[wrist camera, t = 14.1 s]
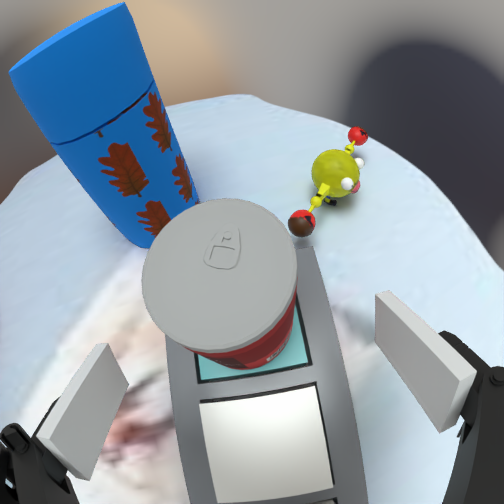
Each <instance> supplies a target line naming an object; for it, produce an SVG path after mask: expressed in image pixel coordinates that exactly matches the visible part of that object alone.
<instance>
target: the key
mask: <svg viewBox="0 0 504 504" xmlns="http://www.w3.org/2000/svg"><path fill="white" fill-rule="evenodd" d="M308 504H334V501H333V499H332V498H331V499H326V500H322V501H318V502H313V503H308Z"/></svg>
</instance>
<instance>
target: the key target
mask: <svg viewBox="0 0 504 504" xmlns="http://www.w3.org/2000/svg"><path fill="white" fill-rule="evenodd" d="M198 358H199V366H200V374H201V380H205V381H211V382H214V381H222V380H229V379H237V378H243V377H250V376H256V375H262V374H268V373H273V372H278V371H284V370H289V369H294V368H298V367H303V366H305V365H306V364H307V363H308V361H307V356H306V351H305V346H304V342H303V337H302V333H301V328H300V323H299V319H298V314H297V310H296V306H295V309H294V317H293V326H292V331H291V334H290V338H289V340H288V342H287V344H286V345H285V347H284V349H283V350H282V351H281V352H280V353H279V355H278V356H277V357H275V358H274V359H273V360H272V361H270V362H269V363H267V364H265V365H263V366H261V367H258V368H254V369H249V370H237V369H231V368H228V367H225V366H223V365H220V364H218V363H216V362H214V361H211V360H209V359H207V358H205V357H203V356H200V355H198Z"/></svg>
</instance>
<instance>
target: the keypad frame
mask: <svg viewBox="0 0 504 504" xmlns="http://www.w3.org/2000/svg"><path fill="white" fill-rule="evenodd" d="M295 252H296V257H297V265H298V275H297V277H298V280H297V291H296V300H295V306H296V310H297V314H298V319H299V323H300V328H301V333H302V337H303V342H304V346H305V351H306V356H307V361H308V367H303V368H299V369H294V370H289V371H284V372H279V373H274V374H268V375H263V376H257V377H250V378H244V379H237V380H230V381H222V382H214V383H210V382H209V381H205V380H201V374H200V366H199V358H198V354H196V353H194V352H192V351H190V350H188V349H186V348H184V347H183V346H181V345H179V344H177V343H176V342H175V341H173V340H172V339H170V338H169V337H168V336H166V334H165V339H166V352H167V363H168V373H169V382H170V391H171V399H172V407H173V414H174V421H175V427H176V434H177V440H178V445H179V451H180V457H181V462H182V467H183V472H184V477H185V481H186V486H187V490H188V495H189V499H190V503H191V504H308V503H313V502H318V501H322V500H326V499H331V498H333V501H334V504H368V496H367V488H366V481H365V474H364V467H363V460H362V454H361V448H360V442H359V436H358V431H357V425H356V420H355V414H354V409H353V404H352V399H351V394H350V390H349V385H348V380H347V376H346V371H345V366H344V362H343V358H342V353H341V349H340V345H339V341H338V337H337V333H336V329H335V325H334V321H333V317H332V313H331V309H330V305H329V301H328V298H327V294H326V290H325V287H324V283H323V280H322V276H321V272H320V269H319V265H318V262H317V259H316V255H315V252H314V248H313V246H311V247H306V248H301V249H296V250H295ZM308 383H312V386H315V389H316V394H317V400H318V405H319V410H320V415H321V420H322V426H323V431H324V436H325V442H326V448H327V453H328V459H329V465H330V471H331V477H332V483H333V488H329V489H325V490H321V491H316V492H312V493H307V494H301V495H296V496H290V497H284V498H277V499H269V500H260V501H249V502H233V503H217V498H216V494H215V489H214V485H213V480H212V475H211V470H210V465H209V460H208V455H207V449H206V444H205V438H204V432H203V426H202V420H201V414H200V407H199V404H205V403H212V399H217V398H226V397H234V396H242V395H249V394H255V393H262V392H268V391H273V390H279V389H284V388H289V387H294V386H299V385H303V384H308Z"/></svg>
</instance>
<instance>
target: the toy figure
mask: <svg viewBox="0 0 504 504" xmlns="http://www.w3.org/2000/svg"><path fill="white" fill-rule="evenodd" d="M348 139H349V141H350V142H351V144H350V145H347V146H346V147H345V151H342V150H337V149H332V150H327V151H325V152H323V153H321V154H320V155H319V156H318V157H317V158H316V159H315V161H314V163H313V166H312V179H313V182H314V184H315V186H316V187H317V188H318V190H319V191H318V193H317V195H316V196H314V197H312V198H311V201H310V203H311V207H310V209H309V210H308V211H307V210H298V211H296V212H294V213H293V214H292V215H291V217H290V219H289V220H288V227H289V230H290V231H291V233H292V234H294V235H295V236H298V237H306V236H309V235H310V234H311V233H312V231H313V229H314V227H315V218H314V216H313V214H312V213H311V212H312V211H313V209H314V208H318V207H320V206H321V204H322V200H323V199H324V198H325V200H324V202H326V203H327V204H330V205H336V203H337V201H336V200H331V199H330V198H331V197H343V196H346V195H348V194H350V193H356V192H357V191H358V189H359V187H360V181H359V175H360V173H359V169H362V168H363V167H364V161H363V160H362V159H361V158H356V159H354V158H353V157H352V156H351V155H350V154H352V153H353V152H354V147H353V146H354V145H357V146H360V145H363V144H364V143H365V142H366V141H367V139H368V135H367V132H366V131H365V130H364V129H363V128H361V127H358V126H355V127H352V128H351V129H350V131H349V132H348Z"/></svg>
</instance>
